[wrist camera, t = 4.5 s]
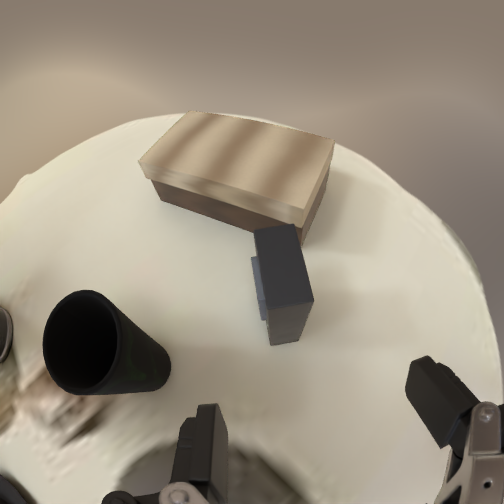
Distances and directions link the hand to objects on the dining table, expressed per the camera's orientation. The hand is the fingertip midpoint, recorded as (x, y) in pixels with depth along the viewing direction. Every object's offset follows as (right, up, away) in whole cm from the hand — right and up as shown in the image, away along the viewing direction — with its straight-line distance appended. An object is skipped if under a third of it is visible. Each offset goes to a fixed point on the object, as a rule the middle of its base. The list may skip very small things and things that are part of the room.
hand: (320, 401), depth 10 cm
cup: (-14, -6, +16) cm, 22 cm away
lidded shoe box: (-4, +14, +26) cm, 30 cm away
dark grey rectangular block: (0, -1, +18) cm, 18 cm away
